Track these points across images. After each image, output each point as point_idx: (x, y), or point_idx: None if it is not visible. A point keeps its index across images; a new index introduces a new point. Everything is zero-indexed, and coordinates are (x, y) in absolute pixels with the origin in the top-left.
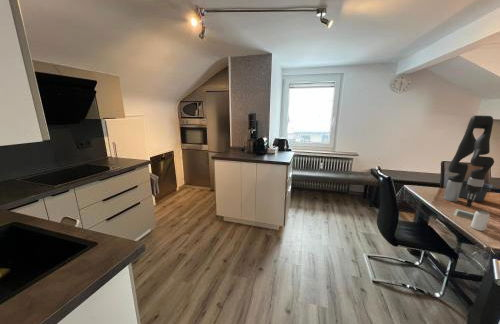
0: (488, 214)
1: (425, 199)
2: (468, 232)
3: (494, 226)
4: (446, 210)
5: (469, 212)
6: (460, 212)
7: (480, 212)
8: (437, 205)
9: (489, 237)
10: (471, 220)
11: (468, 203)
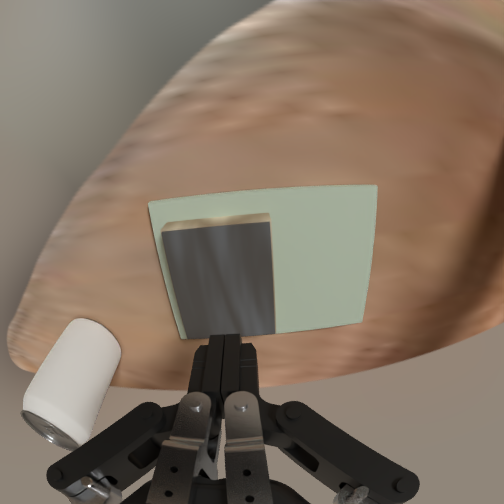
0: (57, 442)
1: None
2: (18, 311)
3: None
4: (262, 120)
5: (367, 275)
6: (225, 247)
7: (35, 420)
8: (340, 39)
9: None
10: (175, 315)
11: (189, 388)
